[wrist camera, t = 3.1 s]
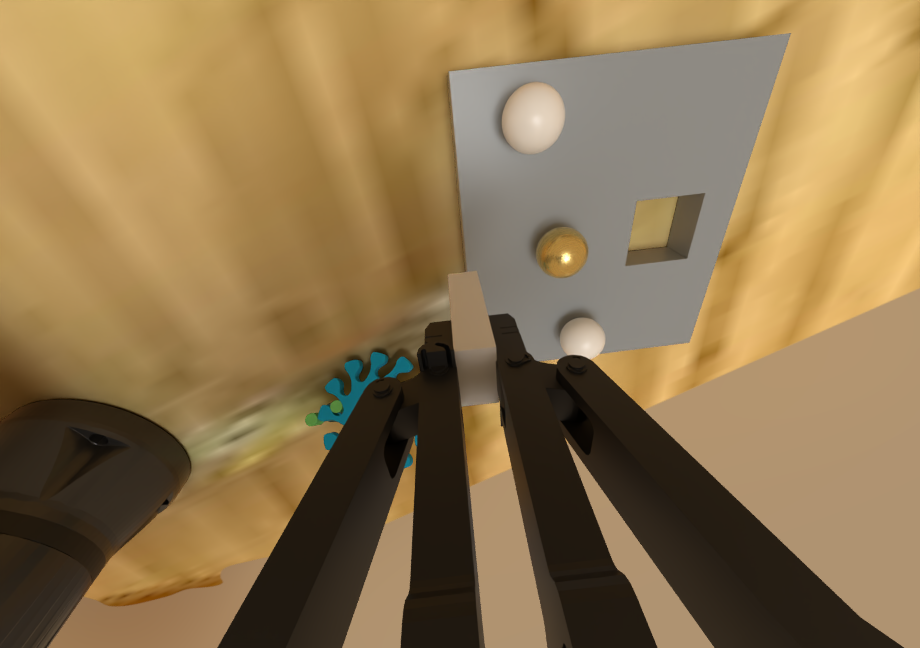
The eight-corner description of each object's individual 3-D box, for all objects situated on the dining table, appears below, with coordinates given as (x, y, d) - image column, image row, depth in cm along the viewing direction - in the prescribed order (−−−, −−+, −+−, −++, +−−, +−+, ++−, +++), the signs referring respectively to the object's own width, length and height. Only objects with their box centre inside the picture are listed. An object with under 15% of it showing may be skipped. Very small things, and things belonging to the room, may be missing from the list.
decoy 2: (497, 154, 20) (509, 161, 17) (495, 87, 18) (507, 83, 15) (552, 147, 20) (571, 153, 17) (555, 80, 18) (577, 76, 16)
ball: (530, 269, 24) (543, 289, 21) (530, 223, 22) (545, 239, 20) (575, 263, 24) (593, 283, 21) (579, 217, 22) (600, 233, 20)
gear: (435, 349, 28) (435, 480, 26) (445, 357, 34) (446, 465, 32) (306, 352, 29) (296, 479, 27) (337, 360, 35) (331, 464, 33)
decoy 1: (553, 346, 28) (566, 371, 25) (555, 312, 26) (570, 336, 23) (592, 341, 28) (609, 366, 25) (596, 307, 26) (616, 330, 23)
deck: (472, 351, 31) (475, 369, 28) (446, 75, 20) (448, 71, 18) (671, 326, 31) (689, 342, 29) (752, 40, 20) (790, 33, 18)
